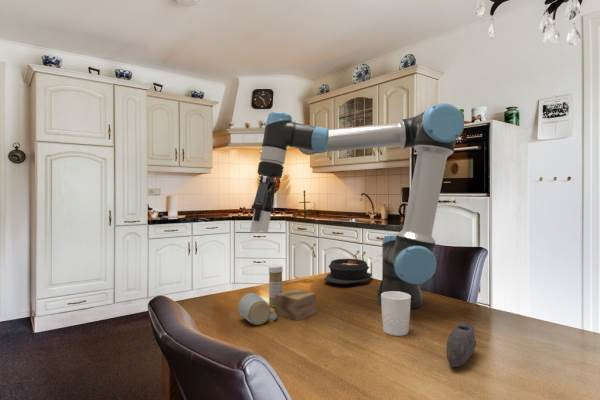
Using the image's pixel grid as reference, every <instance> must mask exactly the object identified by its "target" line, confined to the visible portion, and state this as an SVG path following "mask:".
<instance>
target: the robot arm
mask: <svg viewBox="0 0 600 400" xmlns="http://www.w3.org/2000/svg"><path fill="white" fill-rule="evenodd" d="M464 128H465V119H464V116H463V113H461V111H460V110H459V109H458V108H457V107H456V106H455V105H453V104H450V103H445V102H444V103H443V102H442V103H441V102H440V103H437V104H434V105H431V106H429V107H427V109H425V110H424V111H423V112H421V113H420V114H418V115H415V116H412V117H409V118H400V119H399V120H397V122H393V123H384V124H383V123H382V124H373V125H363V126H351V127H342V128H341V127H340V128H332V129H330V128H329V129H328V128H326V127H323V126H319V125H311V124H305V123H298V122H295V121H293V117H292V115H291V114H289V113H286V112H283V111H276V110H275V111H271V112H269V113H268V115H267V119H266V123H265V126H264V132H263V133H264V134H263V138H262V144H261V149H260V150H259V151H258V153H259V154H260V156H259V160H260V161H259V163H258V168H257V174H258V175H260V177H259V184H258V186H257V190H256V193H255V197H254V201H253V204H252V205H251V209H252V210H253V212H252V219H251V224H250V230H249V232H250V233H255V234H261V233H262V232H263V233H269V228H270V227H269V226H270V222H271V217H272V216H271V215H272V213H274V211H275V209H274V202H275V189H276V185H277V183H276V182H277V181H275V178H277V179H281V178H282V177H283V171H284V166H283V165H284V164H285V161H286V156H287V155H286V154H287V150H288V149H287V148H288V147H289V148H295V149H298V150H299V151H300V152H301V153H302V154H303V155H306V156H311V155H314V154H322V153H330V152H341V151H352V150H363V149H373V148H374V149H375V148H385V147H395V146H397V147H399V148H401V149H406V148H407V149H409V148H413V149H414V151H416V160H415V166H414V170H413V176H412V179H411V185H410V191H409V194H408V195H409V196H408V201H407V206H406V212H405V217H404V222H403V228H402V229H401V230H400V231H399V232H397V233H396V235H384V236H383V237H382V243H381V247H382V265H381V266H382V269H381V270H382V278H381V283H380V285H379V288H378V290H377V295H376V302H377V303H378V304H379V305H381V294H382V293H383V292H389V291H396V292H403V293H407V294H409V295H410V296H411V303H410V309H417V308H419V307H422V306H423V303H424V301H423V299H424V298H423V295H422V292H421V287H420V284H424V283H426V282H427V281H428V280H430V279H431V278H432V277H433V276H434V274H435V273H436V270H437V260H436V259H437V258H436V257H435V254H434V253H435V249H436V247H435V246H436V240H435V239H434V237H433V235H432V234H433V229H434V224H435V219H436V213H437V209H438V206H439V198H440V194H441V189H442V184H443V179H444V174H445V169H446V164H447V159H448V157H449V156H451V155H452V154H454V151H455V146H456V141H457V140H458V139H459V137H461V135H462V133H463V132H464Z"/></svg>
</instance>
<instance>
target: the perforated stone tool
mask: <svg viewBox="0 0 600 400" xmlns="http://www.w3.org/2000/svg"><path fill="white" fill-rule="evenodd" d="M475 333H476V332H475V328H474V325H473V324H471V323H469V322H467V321H461V322H459V323H458V324H457V325H455V327H454V328H453V329H452V330H451V332H450V334H449V336H448V338H447V341H446V348H445V349H446V351H445V353H446V358H447V361H448V363H449V366H450V367H452V368H460V367H461V366H463V365H464V364H465V363H466V362H467V361H468V360H469V359H470V358H471V356H472V355H473V353H474V351H475V349H476V346H477V340H476V337H475Z"/></svg>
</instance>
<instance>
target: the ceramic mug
mask: <svg viewBox="0 0 600 400" xmlns="http://www.w3.org/2000/svg"><path fill="white" fill-rule="evenodd" d="M237 308H238V313H239V314H240V316H241V317H242V318H244V319H245V320H246V321H248V322H249V323H250V324H252V325H255V326H260V325H263V324H265V323H266V322H267V321H268V320H272V321H276V320H277V318H278V315H277V314H276V313H275V311H273V310H271V307H270V306H269V302H267V301H266V300H265V299H263V297H261V296H260V295H259V294H257V293H254V292H250V293H246V294H245V295H242V297H241V299H240V300H239V302H238V307H237Z"/></svg>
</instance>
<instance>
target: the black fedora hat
mask: <svg viewBox="0 0 600 400" xmlns="http://www.w3.org/2000/svg"><path fill="white" fill-rule="evenodd" d="M328 268H329V269H330V273H329V274H327V275H326V277H324V279H323V280H324V281H325V282H328V283H330V284H331V283H332V284H338V285H358V284H361V283H364V282H367V281H369V280H371V279H372V276H373V274H372V273H370V272H368V270H369V268H370V267H369V265H368V263H367V261H366V260H363V259H357V258H338V259H332V260H331V261H330V264H329V265H328Z"/></svg>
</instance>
